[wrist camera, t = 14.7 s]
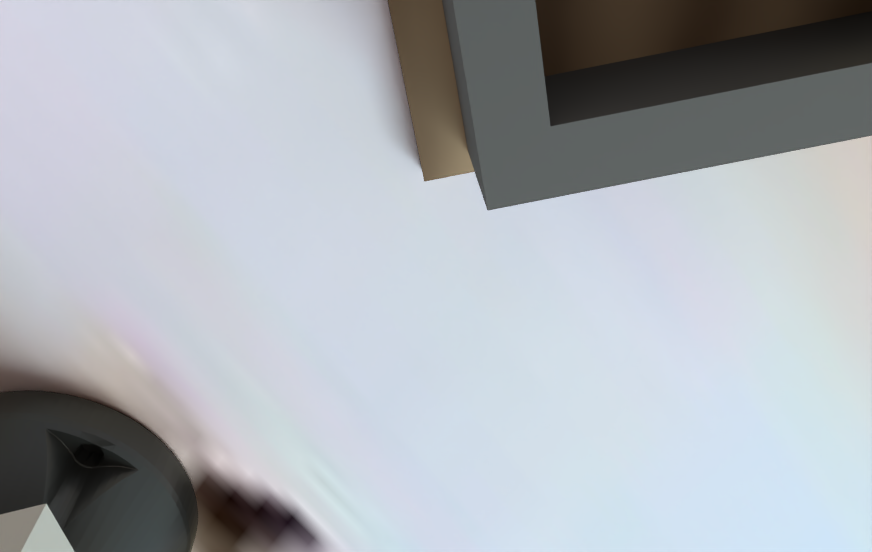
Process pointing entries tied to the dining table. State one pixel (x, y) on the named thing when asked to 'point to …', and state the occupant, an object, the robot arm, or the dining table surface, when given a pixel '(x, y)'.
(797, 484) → the dining table surface
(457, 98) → the hook board
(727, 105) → the grey storage bin
